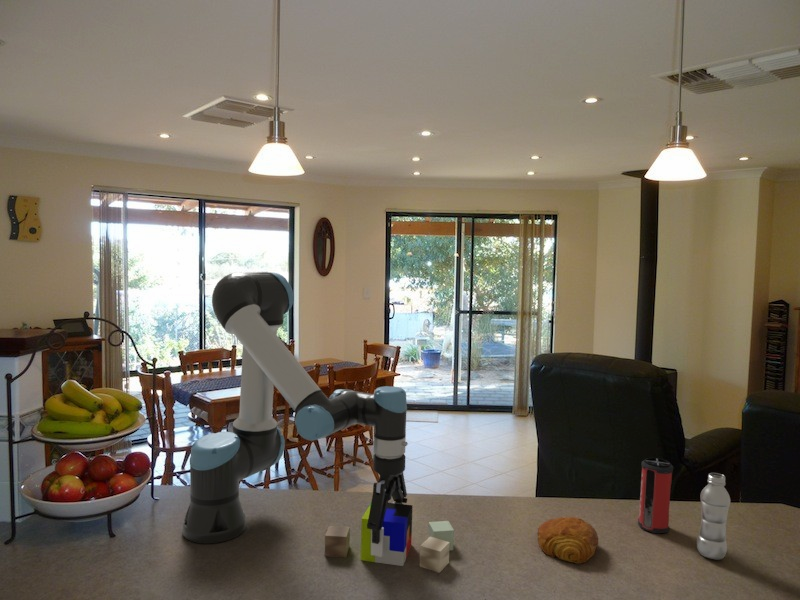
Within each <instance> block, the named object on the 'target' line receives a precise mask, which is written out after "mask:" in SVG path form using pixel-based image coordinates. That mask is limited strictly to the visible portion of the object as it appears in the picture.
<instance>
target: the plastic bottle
mask: <svg viewBox="0 0 800 600" xmlns="http://www.w3.org/2000/svg"><path fill="white" fill-rule="evenodd" d="M726 484H727V483H726V476H725V475H724V474H721V473H718V472H710V473H708V475H707V485H705V487H703V489H702V490H701V492H700V506H701V510H700V511H701V515H700V516H701V518H700V519H701V520H700V527H699V533H698V535H697V539H696V549H697V551H698V552H699V554H700V555H701V556H703V557H705V558H707V559H710V560H716V561H717V560H718V561H719V560H723V559H724V557H726V555H727V552H728V544H727V539H726V538H727V531H726V527H727V519H728V513H729V510H730V506H731V501H732V500H731V497H730V494H729V492H728V491H727V489H726V488H725V486H726Z"/></svg>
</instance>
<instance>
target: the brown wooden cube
mask: <svg viewBox="0 0 800 600" xmlns="http://www.w3.org/2000/svg"><path fill="white" fill-rule="evenodd" d="M350 535H351V527H350V526H343V525H342V526H341V525H338V526H337V525H328V527H327V531H326V532H325V535H324V557H334V558H335V557H336V558H347V554H348V552H349V549H350V541H351V540H350V538H351V537H350Z"/></svg>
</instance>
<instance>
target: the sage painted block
mask: <svg viewBox="0 0 800 600" xmlns="http://www.w3.org/2000/svg"><path fill="white" fill-rule="evenodd" d="M427 533H428V536H427V539H428V538H429V537H433V538H437V539H440V540H444V541H447V542H450V545H449V551H453V550H454V537H455V529H454V528H453V526H452V525H451V523H450V522H449V520H442V521H429V522H428V531H427Z"/></svg>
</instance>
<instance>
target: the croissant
mask: <svg viewBox="0 0 800 600" xmlns="http://www.w3.org/2000/svg"><path fill="white" fill-rule="evenodd" d="M536 535H537V541H538V542H537V543H538V547H539V548H540V549H541V550H542V552H544V554H546V555H549V556H550V557H551V556H552V558H555V556H556V557H557V559H559V560H562V561H565V562H569V563H573V564H584V563H586V562H588V561H589V560H590V559H591V558H592V557H593V556H594V555H595V552H596V549H597V546H598V545H599V536H598V533H597V531H596V529H595V527H593V526H592V525H591V524H590V523H589V522H587V521H585V520H584V519H582V518H579V517H576V516H575V517H574V516H572V517H571V516H570V517H569V516H565V517H556V518H551V519H549V520H546V521H544V522H543V523H541V524H540V525H539V526H538V528H537V533H536Z"/></svg>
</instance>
